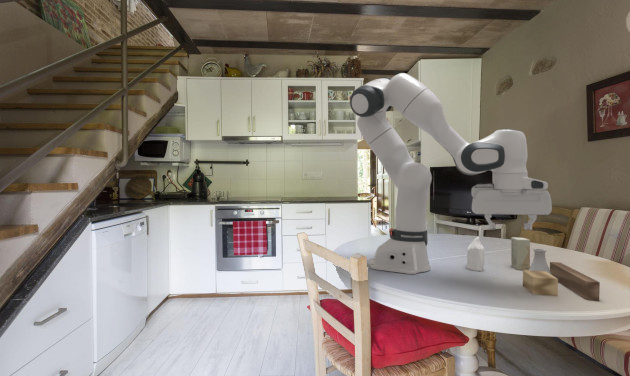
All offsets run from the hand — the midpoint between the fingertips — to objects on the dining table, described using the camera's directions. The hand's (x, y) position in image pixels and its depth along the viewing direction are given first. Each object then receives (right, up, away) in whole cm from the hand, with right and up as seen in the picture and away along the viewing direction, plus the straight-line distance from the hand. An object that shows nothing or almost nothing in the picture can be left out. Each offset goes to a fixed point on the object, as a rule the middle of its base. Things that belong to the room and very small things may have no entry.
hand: (509, 229), depth 89 cm
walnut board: (+19, -18, +1) cm, 26 cm away
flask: (+15, -18, +7) cm, 24 cm away
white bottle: (0, -18, +20) cm, 27 cm away
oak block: (+7, -18, -2) cm, 20 cm away
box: (+17, -17, +20) cm, 32 cm away
